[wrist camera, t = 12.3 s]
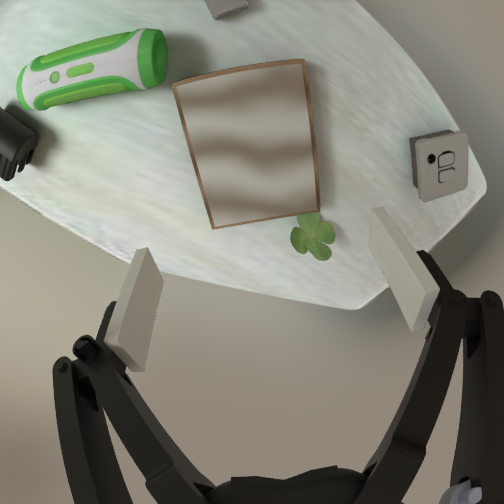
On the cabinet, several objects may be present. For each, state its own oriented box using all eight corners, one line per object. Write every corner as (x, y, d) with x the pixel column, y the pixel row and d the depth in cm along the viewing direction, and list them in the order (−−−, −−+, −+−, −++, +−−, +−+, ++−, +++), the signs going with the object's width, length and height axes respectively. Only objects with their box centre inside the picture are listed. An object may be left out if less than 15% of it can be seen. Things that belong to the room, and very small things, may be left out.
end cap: (46, 127, 29) (18, 143, 24) (32, 165, 32) (6, 186, 27) (6, 98, 25) (-24, 110, 20) (-6, 136, 28) (-33, 153, 23)
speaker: (49, 106, 28) (16, 121, 22) (45, 58, 23) (10, 64, 17) (169, 85, 29) (151, 92, 23) (169, 29, 24) (150, 22, 18)
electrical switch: (416, 142, 30) (473, 135, 27) (402, 129, 34) (456, 123, 31) (419, 204, 35) (471, 194, 32) (408, 186, 39) (457, 178, 36)
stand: (177, 80, 28) (170, 83, 25) (298, 58, 27) (305, 58, 24) (214, 215, 40) (212, 230, 37) (314, 198, 39) (321, 212, 36)
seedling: (310, 221, 46) (327, 203, 40) (325, 268, 44) (345, 256, 38) (269, 227, 44) (281, 209, 38) (283, 278, 42) (298, 266, 36)
